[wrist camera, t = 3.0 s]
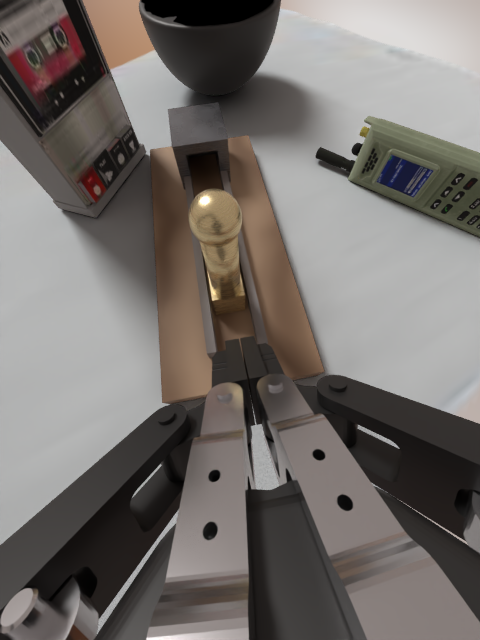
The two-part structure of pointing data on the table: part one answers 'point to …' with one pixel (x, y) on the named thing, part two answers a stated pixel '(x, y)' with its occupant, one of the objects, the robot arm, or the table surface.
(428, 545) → the robot arm
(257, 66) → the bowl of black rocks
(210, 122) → the steel keeper
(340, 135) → the table surface
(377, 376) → the table surface
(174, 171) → the wooden track base
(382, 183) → the handheld radio
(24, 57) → the cassette tape recorder
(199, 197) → the brass bolt
